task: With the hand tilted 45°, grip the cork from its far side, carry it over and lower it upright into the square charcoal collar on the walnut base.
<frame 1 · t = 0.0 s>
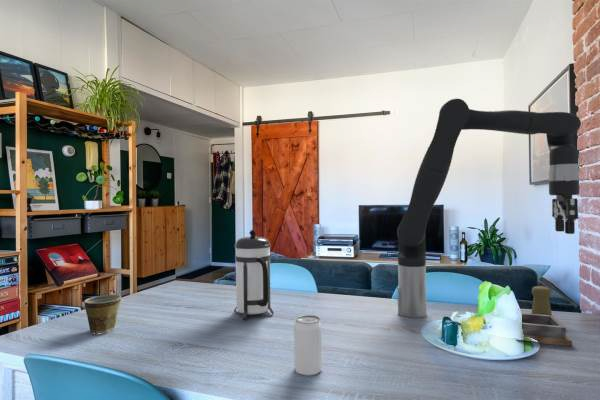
hand: (564, 232, 108), 29 cm above the table, tool pointing down, fingers open, 8 cm apart
ceramic cup: (99, 330, 112), on the table
coffee press: (255, 315, 125), on the table
cork: (541, 321, 115), on the table
can: (308, 370, 83), on the table
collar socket: (536, 334, 103), on the table
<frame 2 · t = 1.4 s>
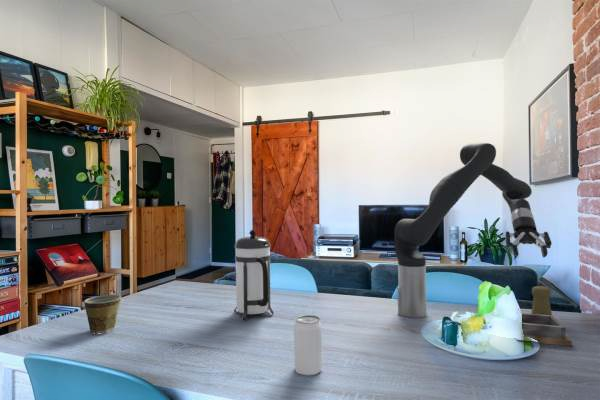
hand: (530, 255, 128), 19 cm above the table, tool tilted 45°, fingers open, 8 cm apart
nothing on the table moved.
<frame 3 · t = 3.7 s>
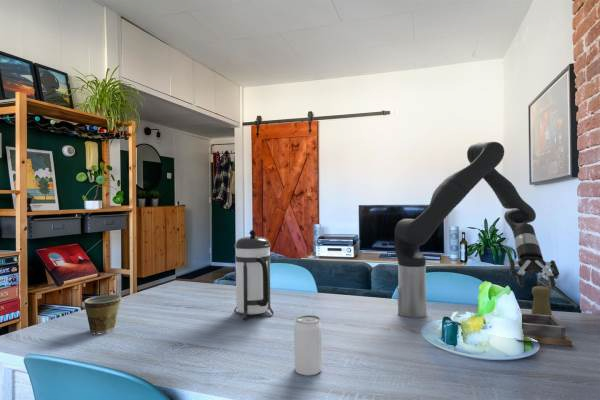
hand: (537, 286, 119), 10 cm above the table, tool tilted 45°, fingers open, 8 cm apart
nothing on the table moved.
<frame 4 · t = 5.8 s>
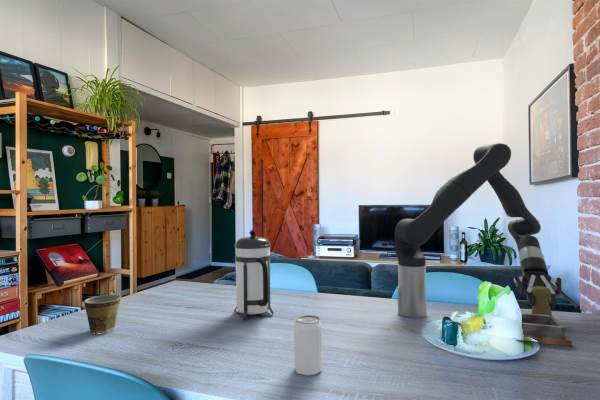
hand: (543, 305, 114), 5 cm above the table, tool tilted 45°, fingers closed on cork, 5 cm apart
cork: (541, 321, 115), on the table, touching gripper
everything else where it was.
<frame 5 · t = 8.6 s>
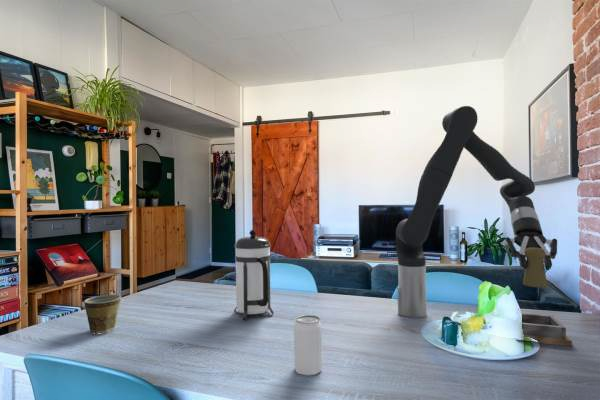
hand: (536, 267, 102), 20 cm above the table, tool tilted 45°, fingers closed on cork, 5 cm apart
cork: (535, 285, 104), point 14 cm above the table, touching gripper
everything else where it was.
when the fingers open (8 cm above the table, at t = 11.4 s): cork drops 1 cm, resting on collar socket.
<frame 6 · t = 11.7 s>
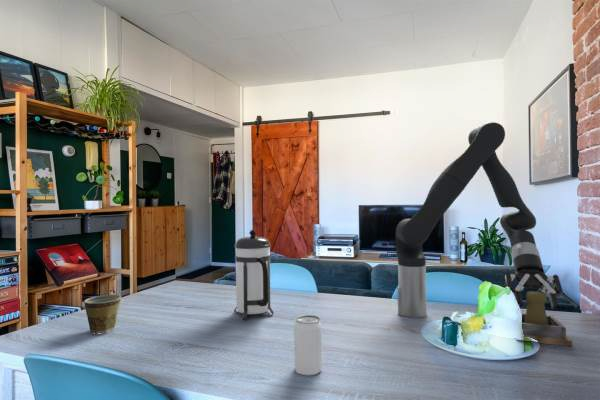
hand: (537, 306, 102), 9 cm above the table, tool tilted 45°, fingers open, 7 cm apart
cork: (536, 330, 103), point 1 cm above the table, touching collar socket
everything else where it was.
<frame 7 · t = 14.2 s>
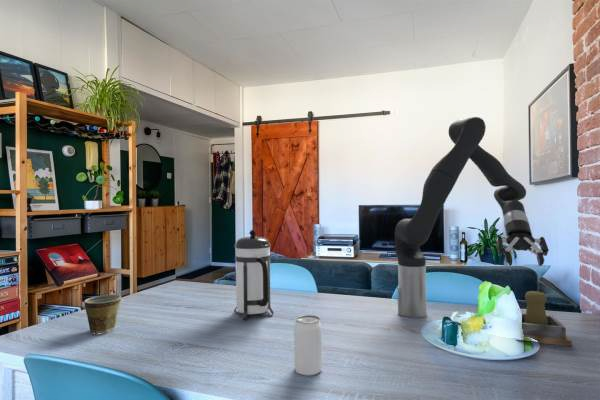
hand: (525, 263, 114), 19 cm above the table, tool tilted 45°, fingers open, 8 cm apart
nothing on the table moved.
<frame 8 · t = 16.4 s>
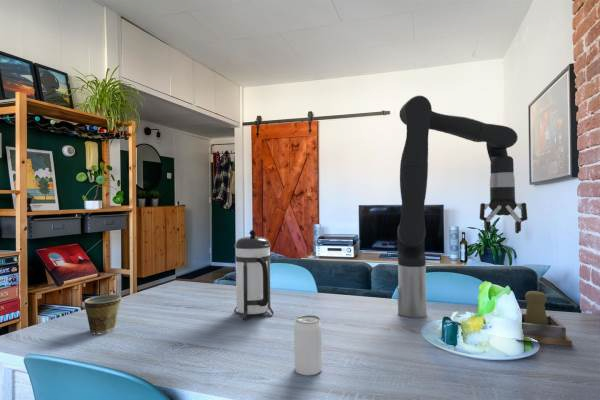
hand: (503, 232, 123), 28 cm above the table, tool pointing down, fingers open, 8 cm apart
nothing on the table moved.
at the end: cork 0.2 cm off-centre on the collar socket, point 1.3 cm above the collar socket's base; cork tilted 0°; the gripper is holding nothing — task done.
